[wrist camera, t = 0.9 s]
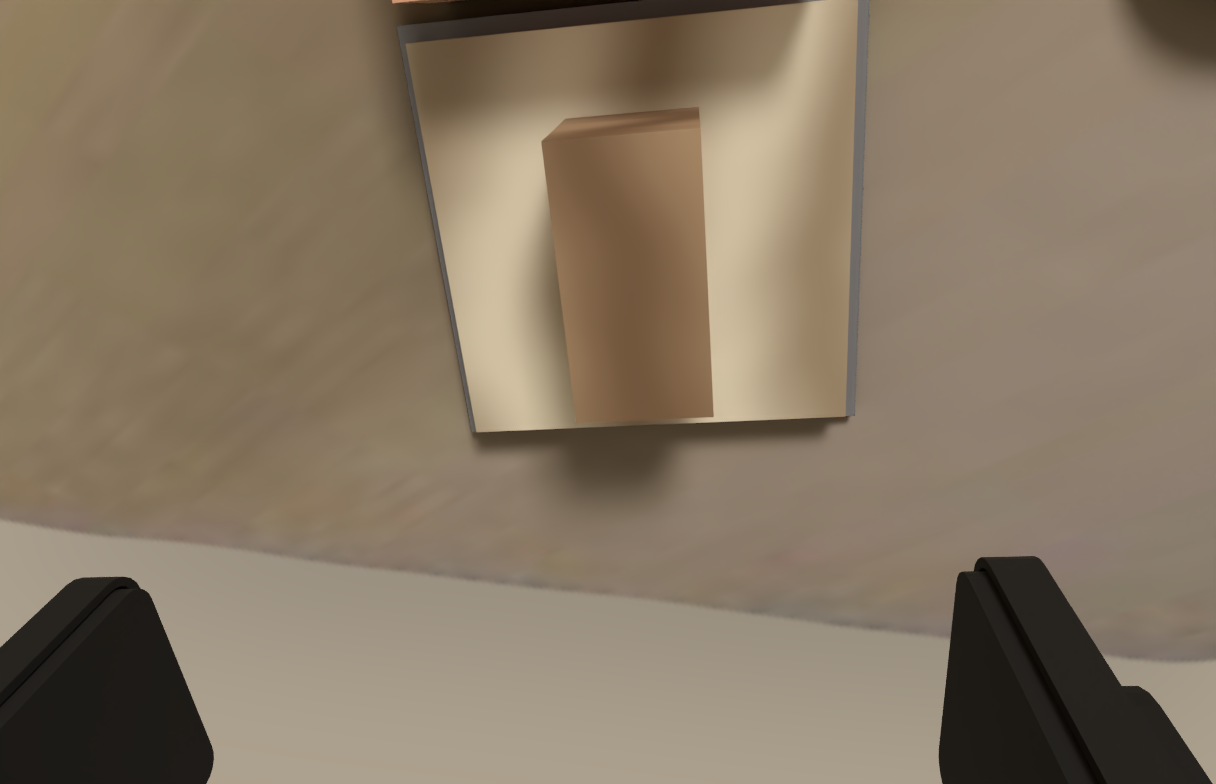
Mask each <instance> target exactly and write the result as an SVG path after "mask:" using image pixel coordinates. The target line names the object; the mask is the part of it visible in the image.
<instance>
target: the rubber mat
mask: <svg viewBox="0 0 1216 784" xmlns="http://www.w3.org/2000/svg"><path fill="white" fill-rule="evenodd" d="M813 1H823V0H640V1H630V2H621V3H611V4H602V5H592V6H583V7H573V8H564V9H554V10H545V11H535V12H526V13H516V14H507V15H497V16H488V17H478V18H469V19H459V20H450V21H440V22H431V23H421V24H412V25H402V26H397V31H398V37H399V42H400V47H401V53H402V58H403V64H404V69H405V74H406V80H407V85H408V90H409V96H410V101H411V107H412V112H413V117H414V123H415V128H416V134H417V139H418V144H419V150H420V155H421V161H422V166H423V171H424V177H425V182H426V188H427V193H428V198H429V204H430V209H431V214H432V220H433V225H434V231H435V236H436V241H437V247H438V252H439V258H440V263H441V268H442V274H443V279H444V285H445V290H446V295H447V301H448V306H449V312H450V317H451V322H452V328H453V333H454V338H455V344H456V349H457V355H458V360H459V365H460V371H461V376H462V382H463V387H464V392H465V398H466V403H467V409H468V414H469V419H470V425H471V430H472V432H476V427H475V422H474V416H473V411H472V405H471V400H470V394H469V389H468V383H467V378H466V372H465V367H464V362H463V356H462V351H461V345H460V340H459V334H458V329H457V323H456V318H455V312H454V307H453V301H452V296H451V290H450V285H449V279H448V274H447V269H446V263H445V258H444V252H443V247H442V241H441V236H440V230H439V225H438V219H437V214H436V208H435V203H434V197H433V192H432V187H431V181H430V176H429V170H428V165H427V159H426V154H425V148H424V143H423V137H422V132H421V126H420V121H419V115H418V110H417V104H416V99H415V94H414V88H413V83H412V77H411V72H410V66H409V61H408V55H407V50H406V44H407V43H414V42H423V41H433V40H442V39H452V38H462V37H472V36H481V35H491V34H501V33H511V32H520V31H530V30H540V29H550V28H560V27H569V26H579V25H589V24H599V23H608V22H618V21H628V20H638V19H647V18H657V17H667V16H677V15H686V14H696V13H706V12H716V11H725V10H735V9H745V8H755V7H764V6H774V5H784V4H794V3H803V2H813ZM869 2H870V0H858V21H857V54H856V87H855V120H854V153H853V186H852V220H851V253H850V286H849V319H848V352H847V386H846V416H855V397H856V369H857V341H858V312H859V284H860V256H861V228H862V200H863V171H864V143H865V115H866V87H867V58H868V30H869Z"/></svg>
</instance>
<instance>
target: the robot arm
mask: <svg viewBox="0 0 1216 784" xmlns="http://www.w3.org/2000/svg"><path fill="white" fill-rule="evenodd" d="M213 760H214V755H213V749H212V745H211V743H210V740H209V738H208V736H207V733H206V731H205V728H204V726H203V723H202V721H201V718H200V716H199V714H198V711H197V708H196V706H195V704H194V701H193V699H192V696H191V694H190V691H189V689H188V686H187V684H186V682H185V679H184V677H183V674H182V672H181V669H180V667H179V665H178V662H177V659H176V657H175V655H174V652H173V650H172V647H171V645H170V642H169V640H168V637H167V635H166V633H165V630H164V628H163V625H162V623H161V620H160V618H159V615H158V613H157V610H156V608H155V605H154V603H153V601H152V598H151V597H150V595H149V593H148V592H146V591H145V590H143V589H140V587H139V585H138V584H137V583H136V582H135V581H134V580H132V579H131V578H127V577H94V578H92V577H91V578H80V579H76V580H73V581H72V582H71V583H69V584H68V585H66V586H65V587H64V588H63V589H62V590H61V591H60V592H59V593H58V594H57V595H56V596H55V597H54V598H53V599H51V600H50V601H49V602H48V603H47V604H46V605H45V606H44V607H43V608H42V609H41V610H40V611H39V612H38V613H37V614H35V615H34V616H33V617H32V618H31V619H30V620H29V621H28V622H27V623H26V624H25V625H24V626H23V627H22V628H21V629H20V630H18V631H17V632H16V633H15V634H14V635H13V636H12V637H11V638H10V639H9V640H8V641H7V642H6V643H5V644H4V645H3V646H1V647H0V784H206V783H207V781H208V779H209V777H210V774H211V771H212V767H213ZM939 766H940V773H941V778H942V783H943V784H1212V782H1211V781H1210V779H1209V778H1208V776H1207V775H1206V773H1205V772H1204V770H1203V769H1202V767H1201V766H1200V764H1199V763H1198V761H1197V760H1196V758H1195V757H1194V755H1193V754H1192V752H1191V751H1190V750H1189V748H1188V747H1187V745H1186V744H1185V742H1184V741H1183V739H1182V738H1181V736H1180V735H1179V733H1178V732H1177V730H1176V729H1175V727H1174V726H1173V724H1172V723H1171V721H1170V720H1169V718H1168V717H1167V715H1166V714H1165V712H1164V711H1163V710H1162V708H1161V707H1160V705H1159V704H1158V703H1157V702H1156V701H1155V699H1154V698H1153V697H1152V696H1151V694H1150V693H1149V692H1147V691H1145V690H1144V689H1142V688H1141V687H1139V686H1121V684H1120V683H1119V681H1118V680H1117V678H1116V677H1115V675H1114V673H1113V672H1112V670H1111V669H1110V667H1109V665H1108V664H1107V662H1106V661H1105V659H1104V658H1103V656H1102V654H1101V653H1100V651H1099V650H1098V648H1097V647H1096V645H1095V643H1094V642H1093V640H1092V639H1091V637H1090V636H1089V634H1088V632H1087V631H1086V629H1085V628H1084V626H1083V625H1082V623H1081V621H1080V620H1079V618H1078V617H1077V615H1076V613H1075V612H1074V610H1073V609H1072V607H1071V606H1070V604H1069V602H1068V601H1067V599H1066V598H1065V596H1064V595H1063V593H1062V591H1061V590H1060V588H1059V587H1058V585H1057V584H1056V582H1055V580H1054V579H1053V577H1052V576H1051V574H1050V573H1049V571H1048V569H1047V568H1046V566H1045V565H1044V563H1043V562H1042V561H1041V560H1040V559H1039V558H1037V557H1035V556H1022V557H981V558H979V559H978V560H977V562H976V564H975V567H974V571H971V572H961V573H959V575H958V578H957V583H956V593H955V602H954V612H953V621H952V631H951V640H950V650H949V660H948V669H947V679H946V688H945V697H944V707H943V716H942V726H941V736H940V745H939Z"/></svg>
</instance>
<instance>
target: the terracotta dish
mask: <svg viewBox="0 0 1216 784" xmlns="http://www.w3.org/2000/svg"><path fill="white" fill-rule="evenodd" d="M458 1H467V0H392V3H449V2H458Z"/></svg>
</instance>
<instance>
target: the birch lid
mask: <svg viewBox="0 0 1216 784" xmlns="http://www.w3.org/2000/svg"><path fill="white" fill-rule="evenodd" d="M857 21H858V0H823V1H813V2H803V3H794V4H784V5H774V6H764V7H755V8H745V9H735V10H725V11H716V12H706V13H696V14H686V15H677V16H667V17H657V18H647V19H638V20H628V21H618V22H608V23H599V24H589V25H579V26H569V27H560V28H550V29H540V30H530V31H520V32H511V33H501V34H491V35H481V36H472V37H462V38H452V39H442V40H433V41H423V42H414V43H407V44H406V50H407V55H408V61H409V66H410V72H411V77H412V83H413V88H414V94H415V99H416V104H417V110H418V115H419V121H420V126H421V132H422V137H423V143H424V148H425V154H426V159H427V165H428V170H429V176H430V181H431V187H432V192H433V197H434V203H435V208H436V214H437V219H438V225H439V230H440V236H441V241H442V247H443V252H444V258H445V263H446V269H447V274H448V279H449V285H450V290H451V296H452V301H453V307H454V312H455V318H456V323H457V329H458V334H459V340H460V345H461V351H462V356H463V362H464V367H465V372H466V378H467V383H468V389H469V394H470V400H471V405H472V411H473V416H474V422H475V427H476V432H495V431H519V430H542V429H565V428H589V427H612V426H636V425H659V424H683V423H706V422H730V421H753V420H777V419H800V418H823V417H846V386H847V352H848V319H849V286H850V253H851V220H852V186H853V153H854V120H855V87H856V54H857Z"/></svg>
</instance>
